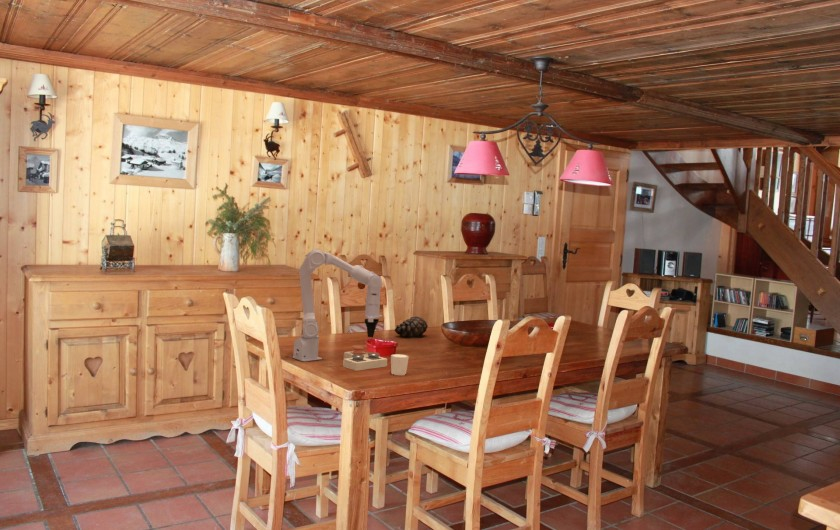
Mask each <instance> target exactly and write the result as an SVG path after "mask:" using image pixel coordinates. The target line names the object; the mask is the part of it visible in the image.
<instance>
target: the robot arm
mask: <svg viewBox="0 0 840 530" xmlns="http://www.w3.org/2000/svg"><path fill="white" fill-rule="evenodd" d="M323 264H325V266H328V265H329V266H330V265H331V266H335V267H336V268H339V269H340V270H343V271H345V272H347V273H348V274H349V275H350V278H352V279H353V280H355V281H356V282H359V283H361V284H363V285H367V290H366V297H365V313H364V317H365V319H364V323H365V326H366V334H367V335H366V336H367V337H368V338H374V336H375V333H376V332H375V331H376V327H377V324H379V320H380V319H379V318H382V317H383V315H382V314H380V309H381V308H380V306H381V291H382V288H381V287H382V286H383V284H384V283H383V280H382V278H381V276H379V275H378V274H377V273H375V272H374V271H373V270H371V271H370V270H368V269H366V268H364V266H363V265H362V264H360V265H358V264H356V265H352V264H350V263H348V262H347V261H345V260H343V259H341V258H340V257H337V256H336V255H334V254H332V253H329V252H327V251H323V250H321V249H319V248H314V249H312V250H311V251H309V252H308V253H307V254H306V255H305V258H304V260H303V261H302V263H301V265H300V267H299V269H298V273H299V282H300V283H299V284H300V293H301V295H300V296H301V301H302V303H301V304H302V313H303V323H302V333H301V334H300V337H298V338H295V339H294V342H293V355H292V357H291V358H293V359H295V360H298V361H301V362H310V361H317V360H319V361H320V360H323V358H322V357H319V356H318V355H319V342H320V335H318V334H319V331H320V328H319V323H318V321H317V320H316V314H315V306H314V305H315V304H314V294H313V286H312V285H313V284H312V277H311V276H312V273H314V271H315V270H316V269H317V268H319V267H321V266H323Z"/></svg>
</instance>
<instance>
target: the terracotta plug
mask: <svg viewBox="0 0 840 530" xmlns="http://www.w3.org/2000/svg"><path fill="white" fill-rule="evenodd" d="M364 349H365V346H364V345H361V344H355V345H354V344H353V345H352V351H353V354H361V355H363V352H364Z"/></svg>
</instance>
